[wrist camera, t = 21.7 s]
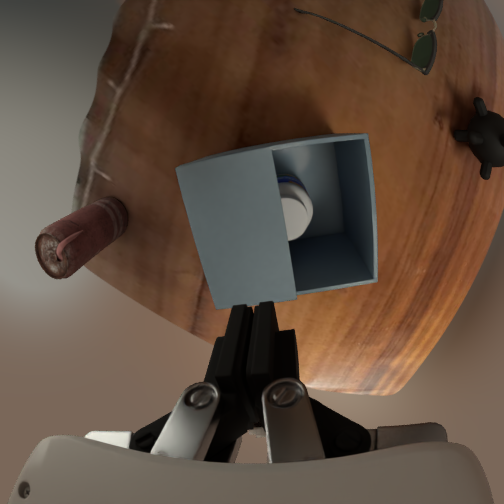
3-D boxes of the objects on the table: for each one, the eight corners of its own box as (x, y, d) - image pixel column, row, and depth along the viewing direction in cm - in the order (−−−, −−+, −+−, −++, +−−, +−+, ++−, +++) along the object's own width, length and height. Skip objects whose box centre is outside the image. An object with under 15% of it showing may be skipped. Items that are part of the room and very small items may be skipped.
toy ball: (508, 190, 25) (471, 199, 24) (472, 135, 29) (428, 134, 28) (547, 148, 15) (520, 145, 14) (501, 90, 19) (460, 75, 18)
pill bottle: (308, 175, 31) (321, 192, 22) (303, 218, 33) (313, 250, 24) (262, 171, 31) (257, 185, 22) (259, 214, 34) (253, 245, 25)
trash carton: (235, 251, 36) (217, 305, 25) (212, 154, 31) (177, 166, 20) (347, 233, 34) (377, 282, 23) (334, 133, 29) (368, 133, 18)
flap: (216, 307, 25) (216, 309, 24) (176, 167, 20) (174, 168, 19) (296, 297, 23) (297, 299, 23) (270, 146, 19) (270, 146, 18)
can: (138, 217, 35) (78, 261, 23) (114, 243, 37) (58, 291, 25) (111, 186, 34) (43, 216, 21) (90, 214, 36) (27, 252, 23)
